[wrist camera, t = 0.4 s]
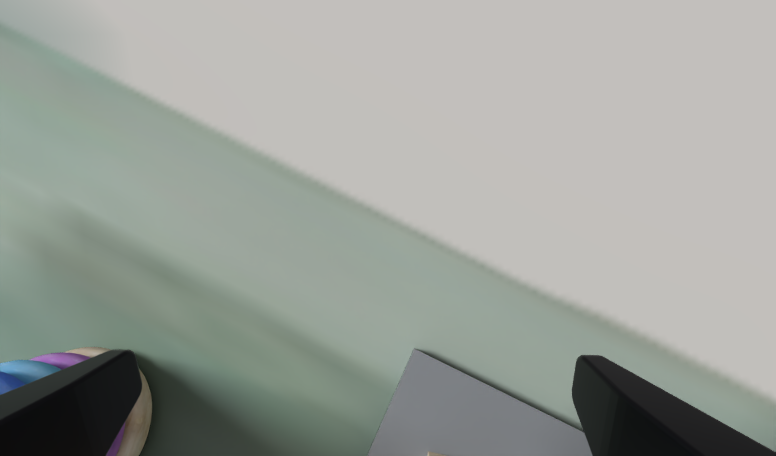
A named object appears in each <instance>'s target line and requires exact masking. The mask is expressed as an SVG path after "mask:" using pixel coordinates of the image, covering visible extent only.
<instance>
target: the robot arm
mask: <svg viewBox="0 0 776 456" xmlns="http://www.w3.org/2000/svg"><path fill="white" fill-rule="evenodd" d="M141 391H142V379H141V375H140V371H139V367H138V362H137V358H136V355H135V353H134V352H133V351H131V350H109V351H106V352H104V353H102V354H99V355H97V356H94V357H92V358H89V359H87V360H84V361H82V362H79V363H77V364H75V365H72V366H70V367H67V368H65V369H62V370H60V371H57V372H55V373H53V374H50V375H48V376H45V377H43V378H40V379H38V380H35V381H33V382H31V383H28V384H26V385H23V386H21V387H18V388H16V389H13V390H11V391H9V392H6V393H4V394H1V395H0V456H106V455H107V453H108V451H109V449H110V448H111V446H112V444H113V442H114V441H115V439H116V437H117V435H118V434H119V432H120V430H121V428H122V427H123V425H124V423H125V421H126V420H127V418H128V416H129V414H130V413H131V411H132V409H133V407H134V405H135V404H136V402H137V400H138V398H139V397H140V394H141ZM572 398H573V403H574V406H575V408H576V411H577V414H578V417H579V420H580V422H581V425H582V428H583V431H584V433H585V436H586V439H587V442H588V445H589V447H590V450H591V453H592V456H776V452H774V451H772V450H771V449H769V448H767V447H765V446H763V445H762V444H760V443H758V442H756V441H754V440H753V439H751V438H749V437H747V436H745V435H744V434H742V433H740V432H738V431H736V430H735V429H733V428H731V427H729V426H727V425H726V424H724V423H722V422H720V421H718V420H716V419H715V418H713V417H711V416H709V415H707V414H706V413H704V412H702V411H700V410H698V409H697V408H695V407H693V406H691V405H689V404H688V403H686V402H684V401H682V400H680V399H679V398H677V397H675V396H673V395H671V394H670V393H668V392H666V391H664V390H662V389H661V388H659V387H657V386H655V385H653V384H651V383H650V382H648V381H646V380H644V379H642V378H641V377H639V376H637V375H635V374H633V373H632V372H630V371H628V370H626V369H624V368H623V367H621V366H619V365H617V364H615V363H614V362H612V361H610V360H608V359H606V358H605V357H603V356H599V355H581V356H579V357H578V359H577V361H576V366H575V373H574V380H573V387H572Z"/></svg>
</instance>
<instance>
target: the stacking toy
mask: <svg viewBox="0 0 776 456" xmlns="http://www.w3.org/2000/svg"><path fill="white" fill-rule="evenodd" d="M109 350H110V349H106V348H101V347H85V348H78V349H73V350H69V351H67V352H63V353H51V354H45V355H42V356H38V357H35V358H32V359H30V360H15V361H9V362H4V363H0V395H1V394H4V393H6V392H9V391H11V390H13V389H16V388H18V387H21V386H23V385H26V384H28V383H31V382H33V381H35V380H38V379H40V378H43V377H45V376H48V375H50V374H53V373H55V372H57V371H60V370H62V369H65V368H67V367H70V366H72V365H75V364H77V363H79V362H82V361H84V360H87V359H89V358H92V357H94V356H97V355H99V354H102V353H104V352H106V351H109ZM139 371H140V375H141V379H142V391H141V394H140V397H139V398H138V400H137V402H136V404H135V405H134V407H133V409H132V411H131V413H130V414H129V416H128V418H127V420H126V421H125V423H124V425H123V427H122V428H121V430H120V432H119V434H118V435H117V437H116V439H115V441H114V442H113V444H112V446H111V448H110V449H109V451H108V453H107V455H106V456H139V454H140V453H141V451H142V449H143V446H144V444H145V441H146V439H147V436H148V432H149V428H150V423H151V416H152V398H151V392H150V389H149V385H148V383H147V381H146V378H145V376H144V375H143V373H142V372H141V370H140V369H139Z"/></svg>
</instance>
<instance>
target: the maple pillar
mask: <svg viewBox="0 0 776 456" xmlns="http://www.w3.org/2000/svg"><path fill="white" fill-rule="evenodd" d="M428 456H446V455H442V454H438V453H434V452H429V451H428Z"/></svg>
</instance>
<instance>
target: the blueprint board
mask: <svg viewBox="0 0 776 456" xmlns="http://www.w3.org/2000/svg"><path fill="white" fill-rule="evenodd" d="M428 451H429V452H434V453H438V454H442V455H446V456H592V453H591V450H590V447H589V445H588V442H587V439H586V436H585V433H584V432H582V431H580V430H578V429H576V428H574V427H572V426H570V425H568V424H566V423H564V422H562V421H560V420H558V419H556V418H554V417H552V416H549V415H547V414H545V413H543V412H541V411H539V410H537V409H535V408H533V407H531V406H529V405H527V404H525V403H523V402H521V401H519V400H517V399H515V398H513V397H511V396H509V395H507V394H505V393H503V392H501V391H499V390H497V389H495V388H493V387H491V386H489V385H487V384H485V383H483V382H481V381H479V380H477V379H475V378H473V377H471V376H469V375H467V374H465V373H463V372H460V371H458V370H456V369H454V368H452V367H450V366H448V365H446V364H444V363H442V362H440V361H438V360H436V359H434V358H432V357H430V356H428V355H426V354H424V353H422V352H420V351H418V350H416V349H414V350H413V352H412V354H411V356H410V359H409V361H408V363H407V366H406V368H405V370H404V372H403V375H402V377H401V379H400V381H399V384H398V386H397V388H396V391H395V393H394V395H393V397H392V400H391V402H390V404H389V407H388V409H387V411H386V413H385V416H384V418H383V420H382V422H381V425H380V427H379V429H378V432H377V434H376V436H375V438H374V441H373V443H372V445H371V447H370V450H369V452H368V454H367V456H428Z"/></svg>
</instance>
